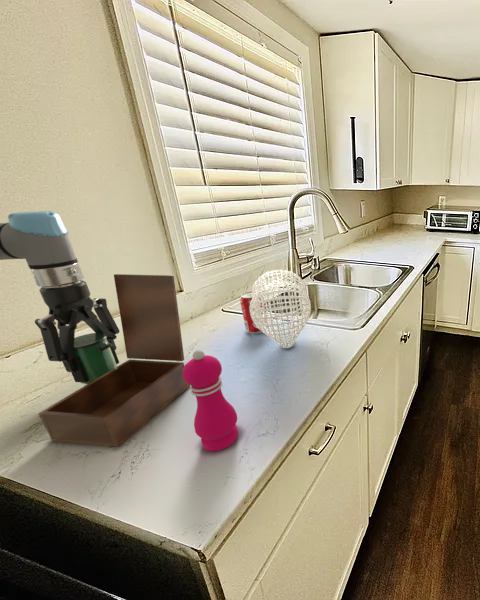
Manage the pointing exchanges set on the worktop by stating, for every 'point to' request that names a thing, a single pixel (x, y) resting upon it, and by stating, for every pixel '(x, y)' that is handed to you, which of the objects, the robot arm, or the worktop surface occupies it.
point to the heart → (257, 313)
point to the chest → (115, 403)
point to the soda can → (248, 320)
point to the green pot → (94, 355)
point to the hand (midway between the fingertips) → (98, 371)
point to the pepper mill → (210, 403)
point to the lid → (149, 316)
